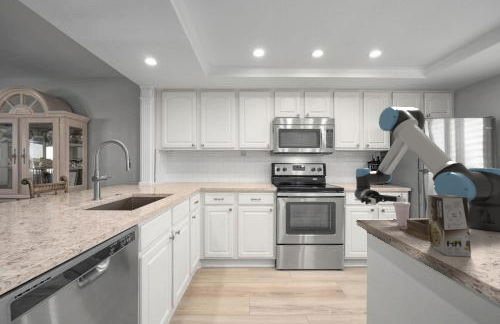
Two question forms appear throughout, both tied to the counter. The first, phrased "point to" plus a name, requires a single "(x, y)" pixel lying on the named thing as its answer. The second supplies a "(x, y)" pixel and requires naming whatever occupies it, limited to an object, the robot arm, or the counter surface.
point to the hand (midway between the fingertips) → (389, 201)
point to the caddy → (418, 228)
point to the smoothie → (402, 212)
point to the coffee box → (449, 224)
